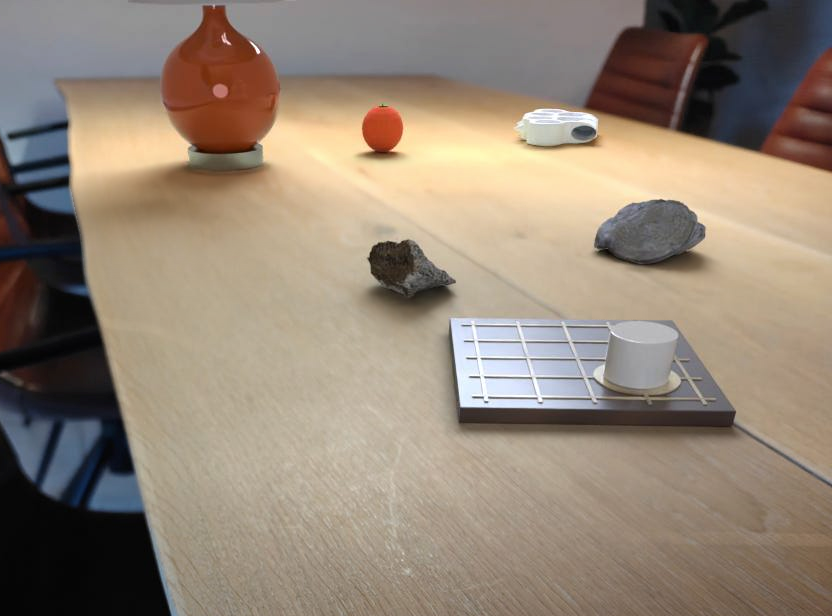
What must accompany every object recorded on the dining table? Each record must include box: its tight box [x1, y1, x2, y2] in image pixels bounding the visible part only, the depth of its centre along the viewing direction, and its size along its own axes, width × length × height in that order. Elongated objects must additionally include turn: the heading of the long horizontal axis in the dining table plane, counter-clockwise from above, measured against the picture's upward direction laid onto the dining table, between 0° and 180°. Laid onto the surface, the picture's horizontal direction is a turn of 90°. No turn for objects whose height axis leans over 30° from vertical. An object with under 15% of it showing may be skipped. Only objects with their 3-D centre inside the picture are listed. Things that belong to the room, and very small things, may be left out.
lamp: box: [127, 0, 296, 171], centre depth 135 cm, size 25×25×39 cm
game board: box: [448, 317, 737, 427], centre depth 74 cm, size 20×20×1 cm
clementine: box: [361, 103, 404, 153], centre depth 152 cm, size 8×7×7 cm
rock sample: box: [366, 237, 457, 299], centre depth 92 cm, size 10×8×9 cm
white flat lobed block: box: [513, 108, 599, 147], centre depth 163 cm, size 3×18×15 cm
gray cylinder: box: [603, 321, 678, 389], centre depth 69 cm, size 5×5×4 cm
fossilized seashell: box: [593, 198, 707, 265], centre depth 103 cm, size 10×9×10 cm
